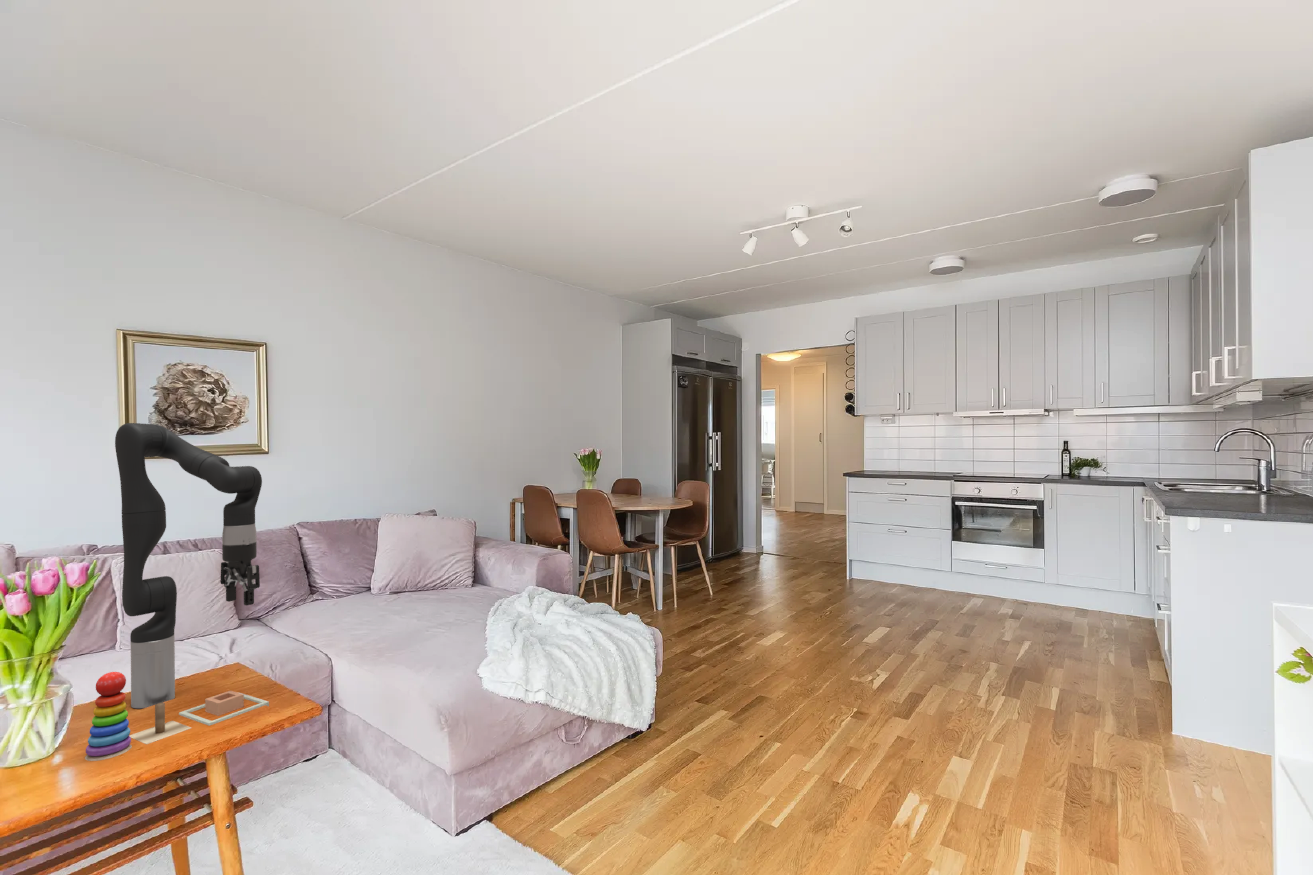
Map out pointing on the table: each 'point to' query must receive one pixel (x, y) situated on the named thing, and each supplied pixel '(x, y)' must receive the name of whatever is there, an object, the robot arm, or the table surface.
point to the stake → (159, 727)
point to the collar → (224, 703)
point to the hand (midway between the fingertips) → (239, 602)
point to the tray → (208, 722)
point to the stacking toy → (109, 720)
